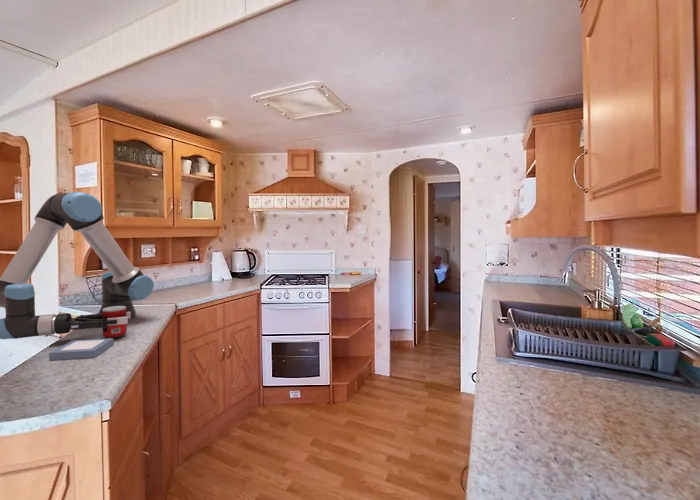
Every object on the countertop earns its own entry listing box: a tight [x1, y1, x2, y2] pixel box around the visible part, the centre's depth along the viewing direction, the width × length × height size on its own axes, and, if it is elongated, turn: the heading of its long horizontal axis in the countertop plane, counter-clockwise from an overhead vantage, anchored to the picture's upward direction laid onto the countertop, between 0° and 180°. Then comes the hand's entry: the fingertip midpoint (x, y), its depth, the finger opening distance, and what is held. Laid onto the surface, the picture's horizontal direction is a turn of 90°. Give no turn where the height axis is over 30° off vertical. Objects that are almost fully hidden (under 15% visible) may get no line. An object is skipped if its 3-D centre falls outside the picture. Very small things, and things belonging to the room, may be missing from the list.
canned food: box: [102, 306, 128, 339], centre depth 130 cm, size 8×8×11 cm
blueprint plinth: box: [48, 337, 114, 361], centre depth 114 cm, size 13×13×3 cm
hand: (128, 317), depth 132 cm, fingers closed on canned food, 8 cm apart
